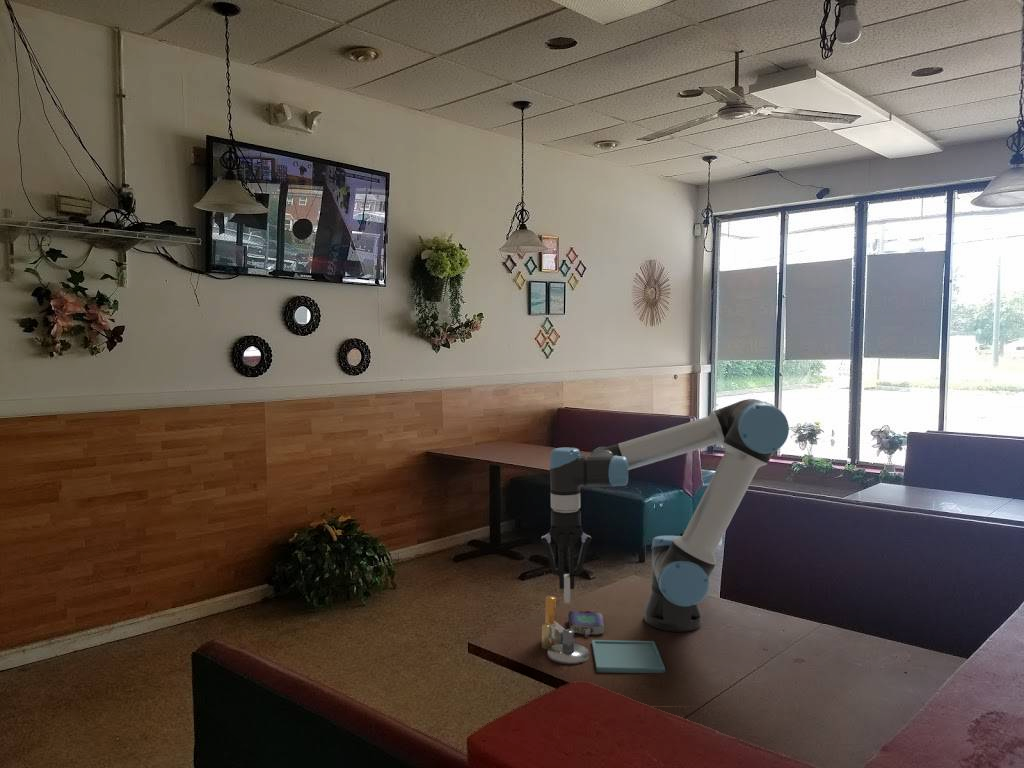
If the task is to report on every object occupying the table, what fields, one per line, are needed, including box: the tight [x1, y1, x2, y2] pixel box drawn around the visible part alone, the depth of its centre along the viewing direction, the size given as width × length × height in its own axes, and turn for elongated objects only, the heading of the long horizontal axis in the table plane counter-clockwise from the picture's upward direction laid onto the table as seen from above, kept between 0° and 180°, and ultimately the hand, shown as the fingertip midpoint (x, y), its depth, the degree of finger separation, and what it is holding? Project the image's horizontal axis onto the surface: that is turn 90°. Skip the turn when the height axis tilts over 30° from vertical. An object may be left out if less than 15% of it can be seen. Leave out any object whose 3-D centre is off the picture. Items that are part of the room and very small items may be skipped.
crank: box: [544, 595, 565, 645], centre depth 185 cm, size 9×3×9 cm, turn 23°
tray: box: [591, 639, 666, 674], centre depth 178 cm, size 16×16×1 cm
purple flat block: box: [567, 609, 606, 638], centre depth 195 cm, size 9×3×11 cm
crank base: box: [541, 623, 590, 665], centre depth 179 cm, size 11×11×6 cm
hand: (567, 601), depth 188 cm, fingers closed
